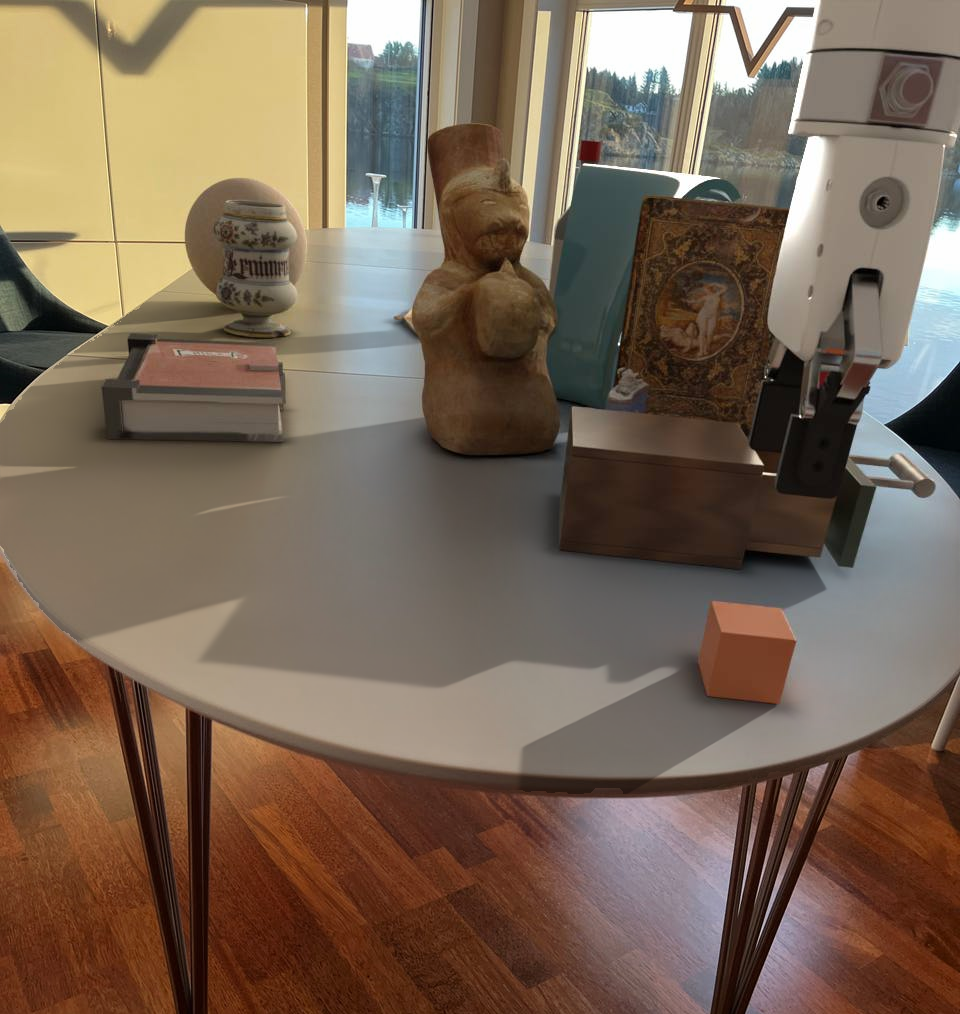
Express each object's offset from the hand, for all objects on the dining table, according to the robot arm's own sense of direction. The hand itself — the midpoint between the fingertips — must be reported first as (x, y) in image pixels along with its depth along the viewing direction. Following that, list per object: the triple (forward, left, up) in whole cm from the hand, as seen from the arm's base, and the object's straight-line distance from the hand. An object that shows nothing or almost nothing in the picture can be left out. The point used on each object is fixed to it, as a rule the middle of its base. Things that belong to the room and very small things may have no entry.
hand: (789, 469), depth 52 cm
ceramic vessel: (+21, -51, -14) cm, 57 cm away
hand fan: (+33, -116, -14) cm, 121 cm away
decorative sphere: (+66, -116, -14) cm, 134 cm away
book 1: (+51, -50, -14) cm, 73 cm away
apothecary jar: (+58, -94, -14) cm, 111 cm away
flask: (+6, -39, -14) cm, 42 cm away
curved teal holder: (-1, -72, -14) cm, 73 cm away
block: (0, 0, -14) cm, 14 cm away
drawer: (-8, -25, -13) cm, 29 cm away
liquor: (+10, -131, -14) cm, 132 cm away
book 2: (-2, -53, -14) cm, 55 cm away
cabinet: (+4, -25, -14) cm, 29 cm away
